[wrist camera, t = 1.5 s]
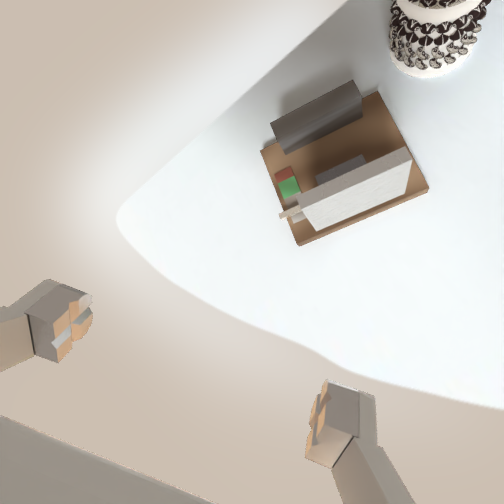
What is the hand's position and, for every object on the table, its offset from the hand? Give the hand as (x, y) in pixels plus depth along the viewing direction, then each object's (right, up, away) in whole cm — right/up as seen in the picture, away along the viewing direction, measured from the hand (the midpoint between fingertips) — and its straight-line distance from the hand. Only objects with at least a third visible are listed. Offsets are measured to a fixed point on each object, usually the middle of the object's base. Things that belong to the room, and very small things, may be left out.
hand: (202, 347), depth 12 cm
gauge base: (+11, +12, +28) cm, 32 cm away
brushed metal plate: (+10, +9, +26) cm, 29 cm away
